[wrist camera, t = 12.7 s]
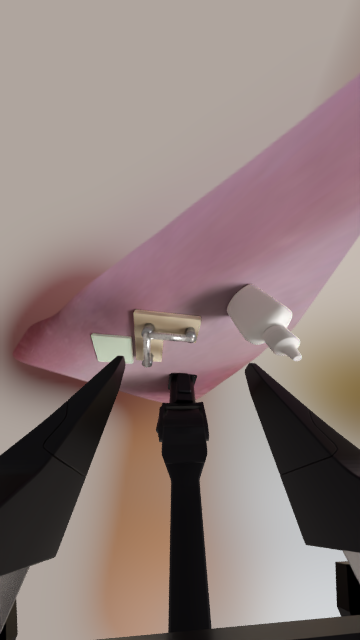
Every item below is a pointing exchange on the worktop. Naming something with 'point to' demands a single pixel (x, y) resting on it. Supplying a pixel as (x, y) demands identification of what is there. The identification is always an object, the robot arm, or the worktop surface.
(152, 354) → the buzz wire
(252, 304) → the eye dropper bottle
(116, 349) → the pad
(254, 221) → the worktop surface
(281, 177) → the worktop surface
